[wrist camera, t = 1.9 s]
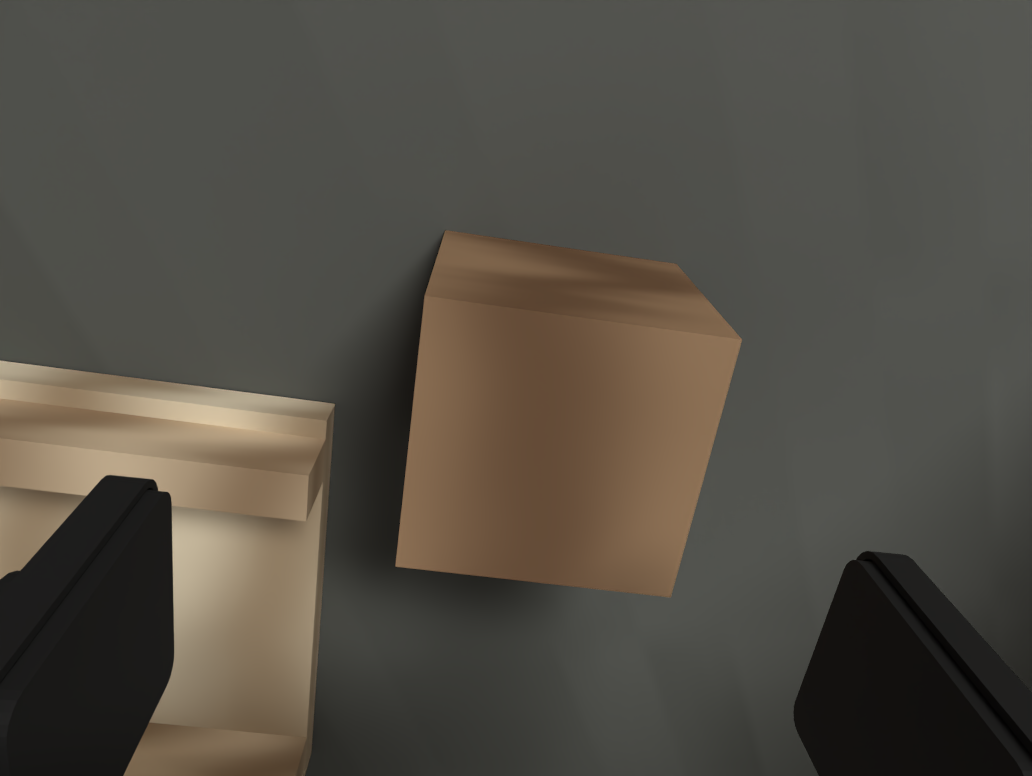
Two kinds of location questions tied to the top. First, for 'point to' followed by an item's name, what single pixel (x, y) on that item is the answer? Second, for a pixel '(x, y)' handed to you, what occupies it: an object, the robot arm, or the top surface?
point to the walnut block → (560, 416)
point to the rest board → (194, 545)
